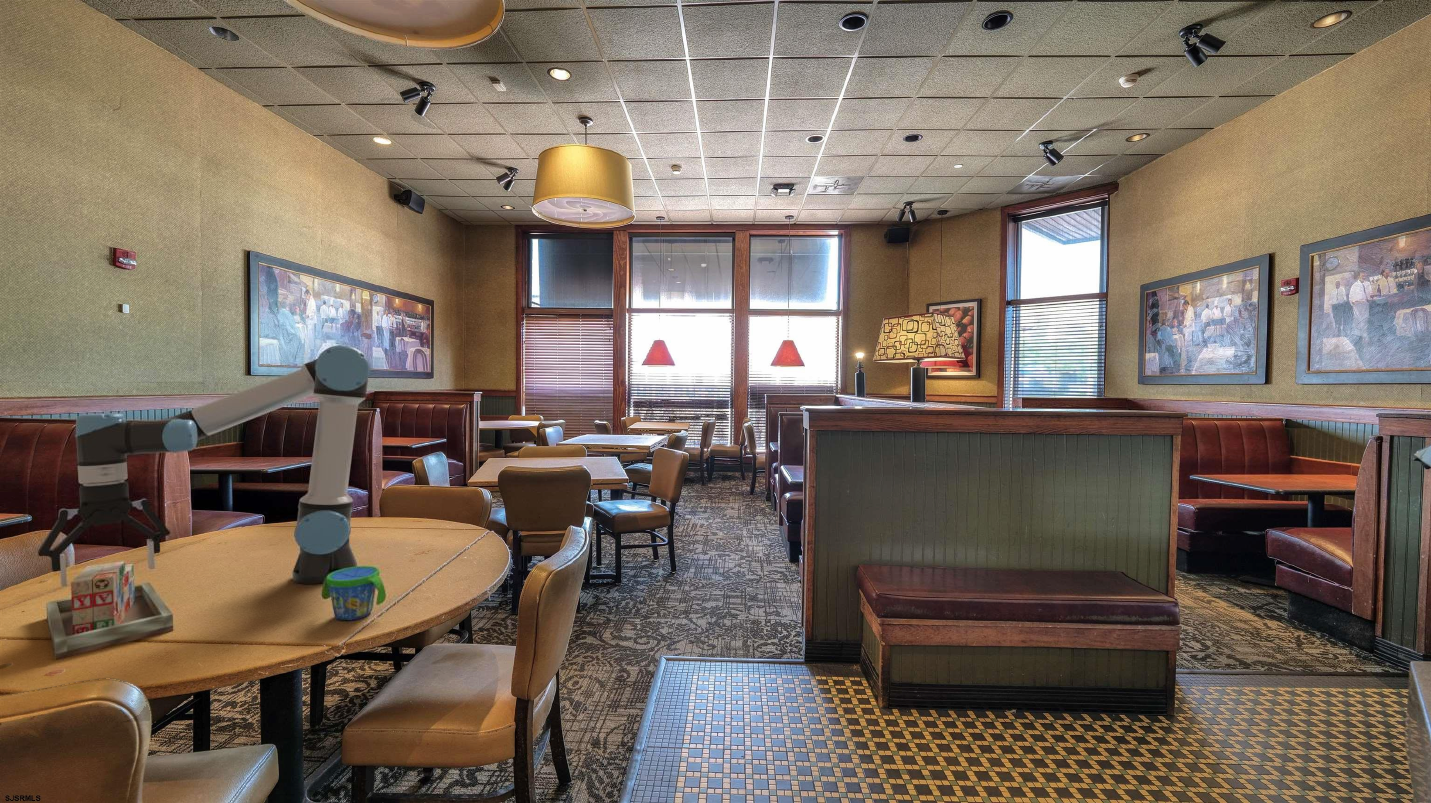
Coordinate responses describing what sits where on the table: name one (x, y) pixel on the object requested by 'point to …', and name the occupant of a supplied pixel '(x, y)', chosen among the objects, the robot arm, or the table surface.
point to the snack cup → (353, 591)
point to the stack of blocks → (102, 596)
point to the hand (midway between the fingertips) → (109, 576)
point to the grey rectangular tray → (138, 623)
